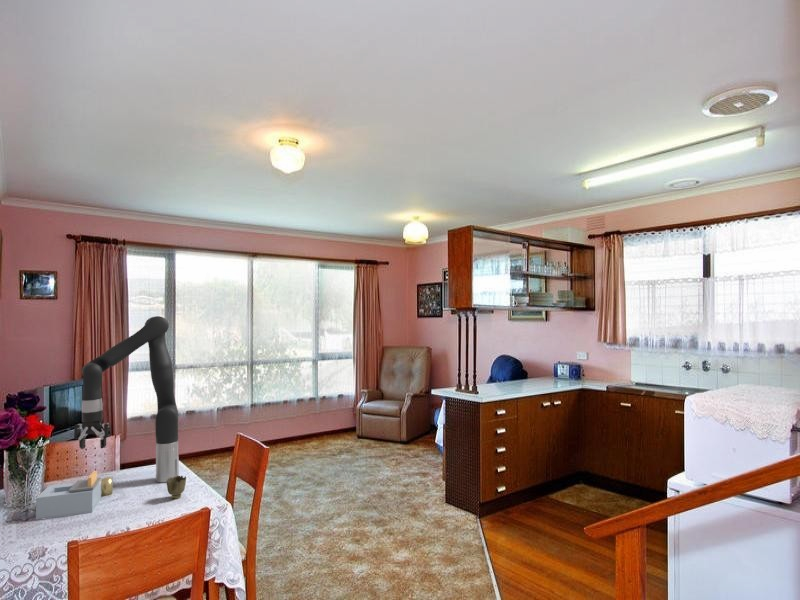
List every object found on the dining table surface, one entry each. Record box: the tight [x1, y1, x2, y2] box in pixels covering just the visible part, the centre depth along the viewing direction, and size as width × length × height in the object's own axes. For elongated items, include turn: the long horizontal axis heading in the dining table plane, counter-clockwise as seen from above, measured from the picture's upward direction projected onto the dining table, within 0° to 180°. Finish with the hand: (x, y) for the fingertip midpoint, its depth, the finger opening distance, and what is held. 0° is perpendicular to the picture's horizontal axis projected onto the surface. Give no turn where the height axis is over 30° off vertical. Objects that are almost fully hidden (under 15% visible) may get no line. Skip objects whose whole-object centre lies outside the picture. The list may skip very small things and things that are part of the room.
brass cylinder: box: [101, 476, 114, 497], centre depth 204 cm, size 4×4×6 cm
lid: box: [69, 470, 101, 492], centre depth 190 cm, size 8×12×4 cm, turn 20°
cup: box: [166, 475, 187, 500], centre depth 198 cm, size 8×7×8 cm
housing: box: [35, 479, 102, 521], centre depth 188 cm, size 18×14×8 cm
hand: (92, 448), depth 205 cm, fingers open, 8 cm apart
